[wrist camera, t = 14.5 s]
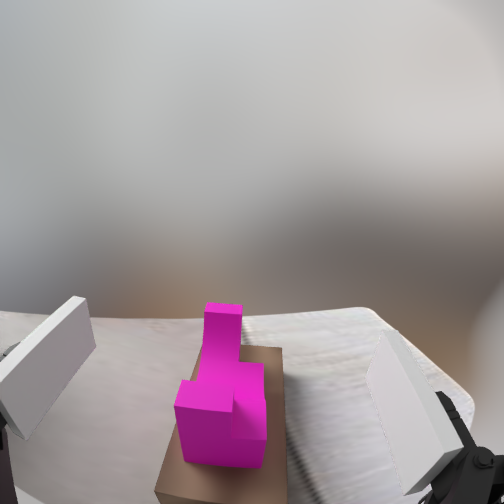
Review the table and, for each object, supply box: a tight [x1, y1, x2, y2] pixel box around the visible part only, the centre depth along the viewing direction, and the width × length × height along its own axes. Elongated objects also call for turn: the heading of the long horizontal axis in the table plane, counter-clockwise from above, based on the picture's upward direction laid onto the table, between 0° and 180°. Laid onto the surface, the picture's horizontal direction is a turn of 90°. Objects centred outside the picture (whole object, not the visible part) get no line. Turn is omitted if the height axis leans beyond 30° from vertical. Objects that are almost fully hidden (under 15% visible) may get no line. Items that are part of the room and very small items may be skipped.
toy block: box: [174, 302, 267, 468], centre depth 25 cm, size 15×6×8 cm, turn 179°
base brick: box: [154, 345, 288, 504], centre depth 26 cm, size 10×22×4 cm, turn 177°
